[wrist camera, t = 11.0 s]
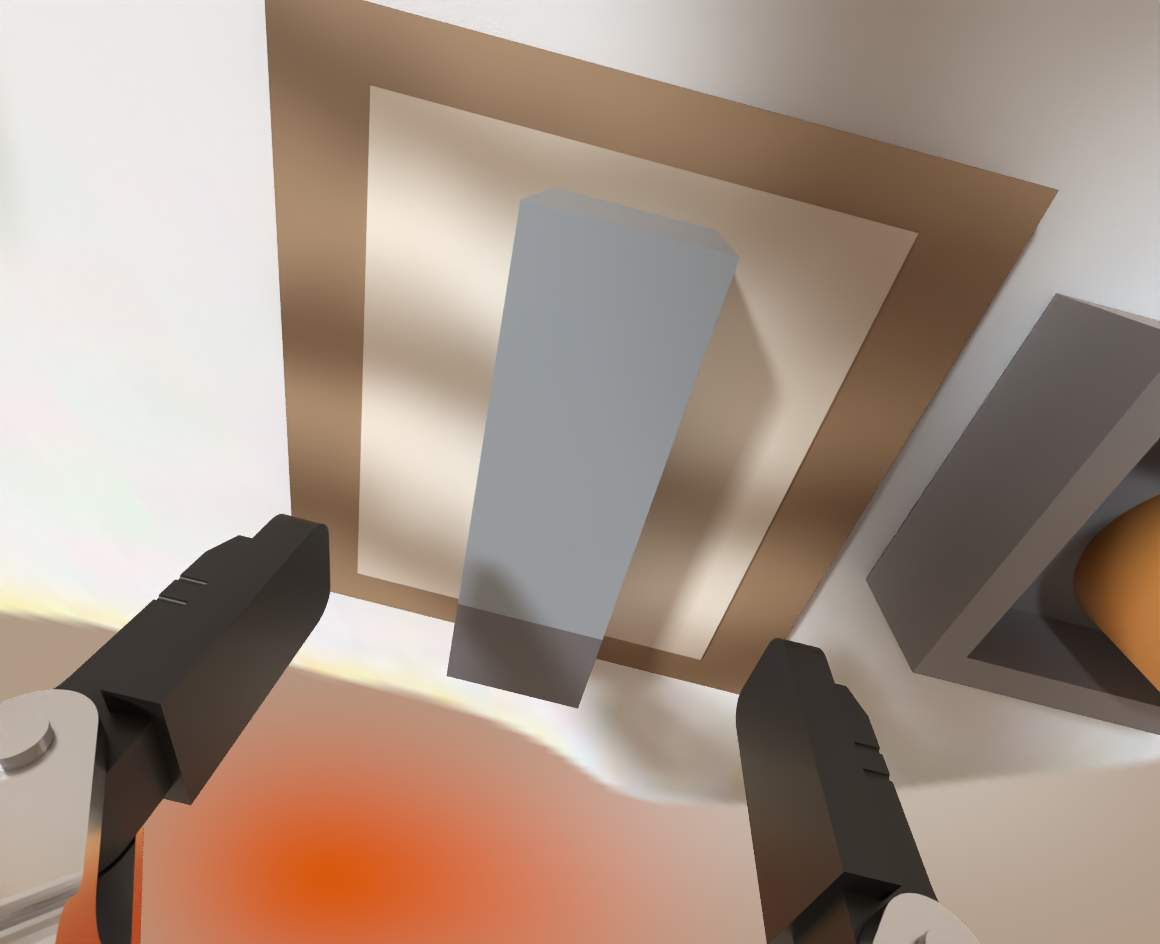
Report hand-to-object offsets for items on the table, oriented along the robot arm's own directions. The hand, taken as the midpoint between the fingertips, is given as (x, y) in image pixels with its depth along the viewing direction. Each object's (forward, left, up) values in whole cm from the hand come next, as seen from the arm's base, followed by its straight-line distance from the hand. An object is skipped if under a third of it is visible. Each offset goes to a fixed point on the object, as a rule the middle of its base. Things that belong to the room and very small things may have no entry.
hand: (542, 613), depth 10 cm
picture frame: (0, 0, -9) cm, 9 cm away
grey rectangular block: (0, 0, -7) cm, 7 cm away
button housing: (-2, +16, -9) cm, 18 cm away
